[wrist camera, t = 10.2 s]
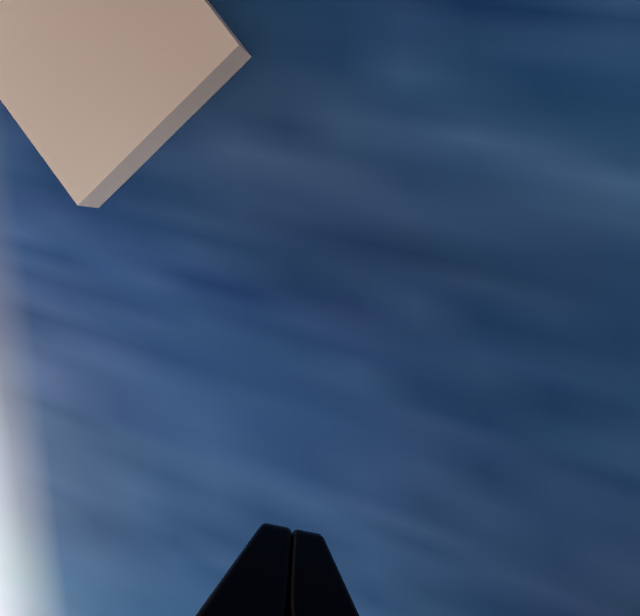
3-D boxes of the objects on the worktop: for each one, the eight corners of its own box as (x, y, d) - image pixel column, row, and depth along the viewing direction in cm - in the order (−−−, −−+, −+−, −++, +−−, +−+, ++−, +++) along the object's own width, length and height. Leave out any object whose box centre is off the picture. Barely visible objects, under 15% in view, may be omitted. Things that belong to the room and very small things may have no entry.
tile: (238, 44, 15) (56, -192, 16) (77, 205, 17) (-81, -12, 17) (257, 62, 16) (90, -154, 17) (107, 208, 18) (-40, 7, 19)
